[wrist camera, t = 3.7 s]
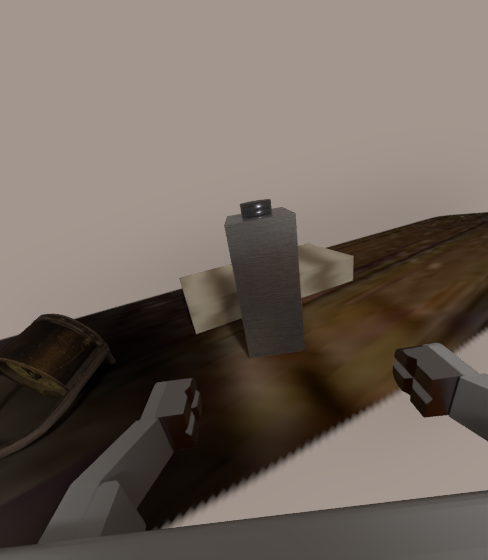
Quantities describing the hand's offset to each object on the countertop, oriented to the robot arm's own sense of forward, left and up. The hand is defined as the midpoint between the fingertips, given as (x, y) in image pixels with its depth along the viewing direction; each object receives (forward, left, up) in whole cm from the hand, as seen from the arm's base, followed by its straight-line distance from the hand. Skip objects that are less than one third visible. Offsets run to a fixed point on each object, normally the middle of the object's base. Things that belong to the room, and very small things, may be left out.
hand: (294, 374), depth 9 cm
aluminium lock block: (-6, +10, -7) cm, 14 cm away
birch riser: (-11, +20, -7) cm, 23 cm away
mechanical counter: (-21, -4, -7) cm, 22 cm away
